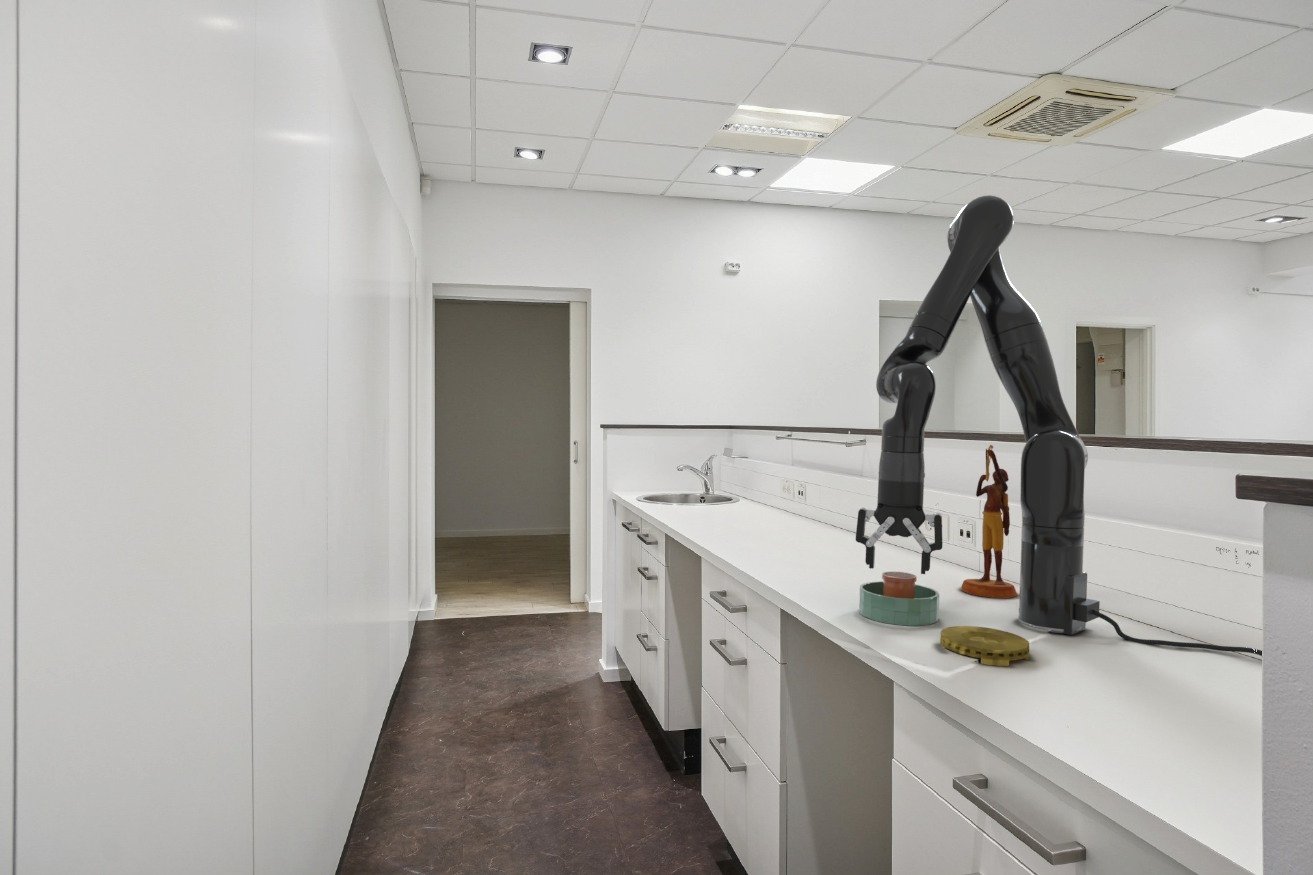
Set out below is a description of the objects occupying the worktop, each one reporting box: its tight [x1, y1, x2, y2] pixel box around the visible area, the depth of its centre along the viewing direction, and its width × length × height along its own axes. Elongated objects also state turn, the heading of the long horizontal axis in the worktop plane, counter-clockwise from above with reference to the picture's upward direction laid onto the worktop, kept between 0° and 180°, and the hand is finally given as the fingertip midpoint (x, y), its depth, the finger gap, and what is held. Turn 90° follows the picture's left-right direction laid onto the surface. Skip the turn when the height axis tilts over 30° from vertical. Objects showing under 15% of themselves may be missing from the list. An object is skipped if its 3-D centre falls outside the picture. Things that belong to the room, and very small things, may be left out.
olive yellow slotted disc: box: [939, 625, 1030, 667], centre depth 107 cm, size 12×12×2 cm
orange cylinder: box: [881, 571, 918, 598], centre depth 124 cm, size 6×6×7 cm
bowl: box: [858, 580, 940, 627], centre depth 124 cm, size 13×13×5 cm
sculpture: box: [960, 444, 1018, 599], centre depth 145 cm, size 10×10×30 cm
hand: (897, 570), depth 125 cm, fingers open, 8 cm apart
